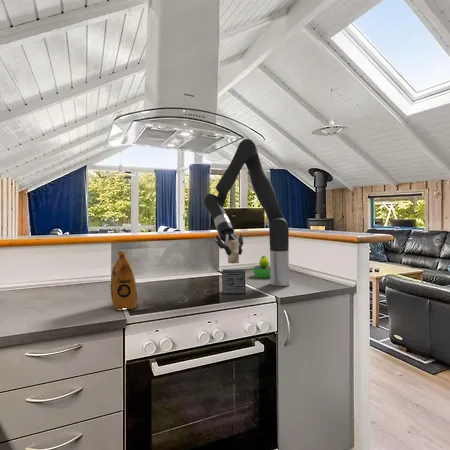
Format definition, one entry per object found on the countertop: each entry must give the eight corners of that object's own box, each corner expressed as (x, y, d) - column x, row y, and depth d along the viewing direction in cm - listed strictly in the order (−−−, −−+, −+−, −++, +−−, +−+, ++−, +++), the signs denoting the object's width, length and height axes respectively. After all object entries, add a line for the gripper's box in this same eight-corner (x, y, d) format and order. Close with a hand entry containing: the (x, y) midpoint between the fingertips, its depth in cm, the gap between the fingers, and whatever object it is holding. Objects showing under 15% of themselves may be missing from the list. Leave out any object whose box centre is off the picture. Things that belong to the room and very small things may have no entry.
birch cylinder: (239, 261, 148) (238, 240, 148) (238, 263, 143) (238, 241, 143) (228, 261, 149) (228, 240, 148) (227, 263, 144) (227, 241, 143)
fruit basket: (252, 277, 178) (252, 257, 177) (255, 274, 186) (255, 255, 186) (272, 278, 175) (272, 258, 174) (275, 275, 183) (275, 255, 182)
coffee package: (110, 312, 121) (108, 255, 120) (111, 303, 133) (109, 251, 132) (138, 309, 124) (136, 253, 123) (136, 301, 136) (134, 249, 135)
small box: (245, 291, 150) (245, 268, 149) (245, 294, 143) (245, 271, 142) (223, 290, 151) (223, 268, 150) (221, 294, 144) (221, 271, 144)
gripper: (212, 221, 149) (223, 250, 139) (239, 220, 155) (252, 247, 145) (207, 231, 154) (218, 260, 144) (234, 230, 160) (246, 257, 150)
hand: (235, 253), depth 144 cm, fingers closed on birch cylinder, 5 cm apart
